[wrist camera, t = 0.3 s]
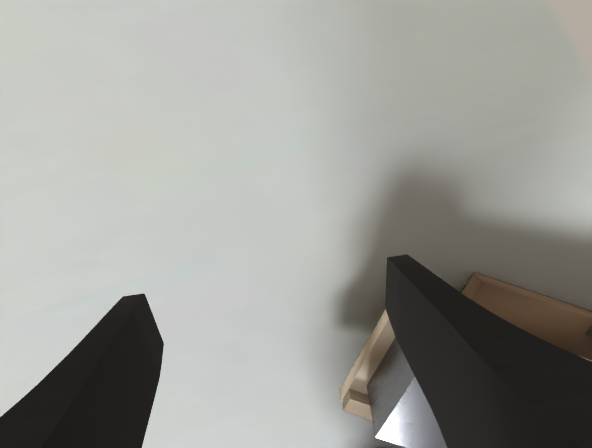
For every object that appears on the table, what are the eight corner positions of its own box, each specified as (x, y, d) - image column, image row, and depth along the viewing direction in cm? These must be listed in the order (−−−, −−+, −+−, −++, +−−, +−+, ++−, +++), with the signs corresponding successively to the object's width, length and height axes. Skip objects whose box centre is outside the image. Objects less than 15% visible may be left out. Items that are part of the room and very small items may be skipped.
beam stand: (601, 442, 32) (670, 521, 27) (396, 394, 28) (428, 475, 22) (695, 345, 28) (798, 414, 23) (474, 272, 24) (536, 335, 19)
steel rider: (456, 416, 23) (479, 472, 20) (366, 385, 22) (375, 437, 19) (495, 363, 21) (527, 413, 18) (400, 328, 21) (416, 374, 18)
